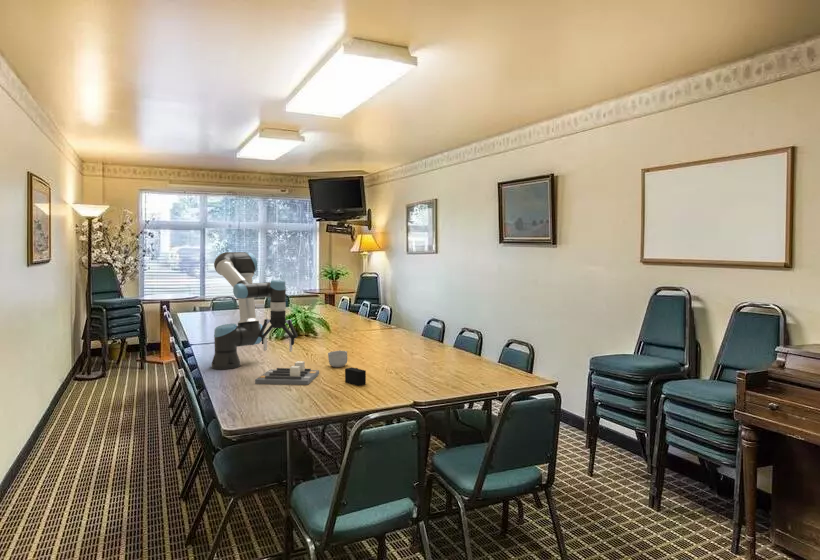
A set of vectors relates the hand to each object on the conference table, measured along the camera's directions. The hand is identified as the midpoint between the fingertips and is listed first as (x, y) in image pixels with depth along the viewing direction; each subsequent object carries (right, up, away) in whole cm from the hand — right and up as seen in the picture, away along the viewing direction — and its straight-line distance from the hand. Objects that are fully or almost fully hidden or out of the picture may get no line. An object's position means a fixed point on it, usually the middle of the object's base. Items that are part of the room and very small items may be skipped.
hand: (278, 350), depth 262 cm
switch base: (+7, -13, -6) cm, 16 cm away
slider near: (+12, -11, -12) cm, 20 cm away
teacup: (+28, -12, +24) cm, 39 cm away
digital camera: (+42, -14, -14) cm, 47 cm away
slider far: (+11, -11, -1) cm, 16 cm away
